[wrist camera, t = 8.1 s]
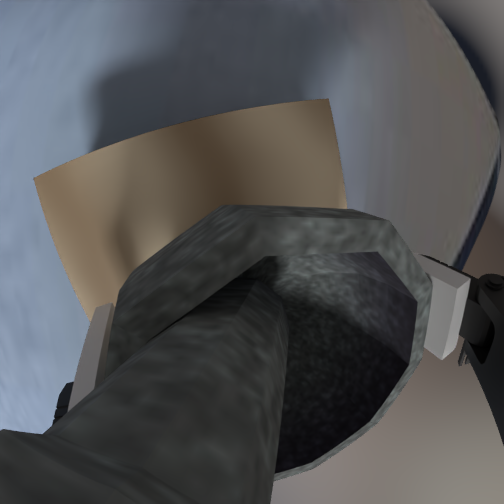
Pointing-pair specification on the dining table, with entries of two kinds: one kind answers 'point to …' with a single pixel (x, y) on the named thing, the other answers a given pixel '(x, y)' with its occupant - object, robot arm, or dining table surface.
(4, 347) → the dining table surface
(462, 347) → the robot arm
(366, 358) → the mortar and pestle
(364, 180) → the dining table surface
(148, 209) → the oak footstool
